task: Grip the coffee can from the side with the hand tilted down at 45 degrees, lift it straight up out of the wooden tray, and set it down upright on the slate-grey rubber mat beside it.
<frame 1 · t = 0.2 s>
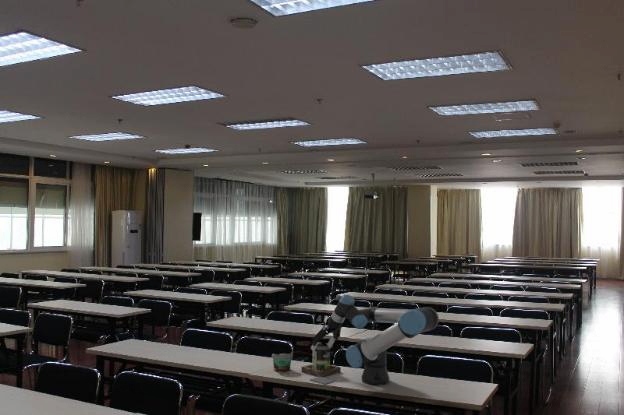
hand: (320, 348, 334), 15 cm above the table, tool tilted 35°, fingers open, 13 cm apart
mat: (322, 380, 322), on the table
food container: (283, 371, 342), on the table
coffee can: (321, 372, 340), resting in wooden tray
wooden tray: (321, 372, 340), on the table
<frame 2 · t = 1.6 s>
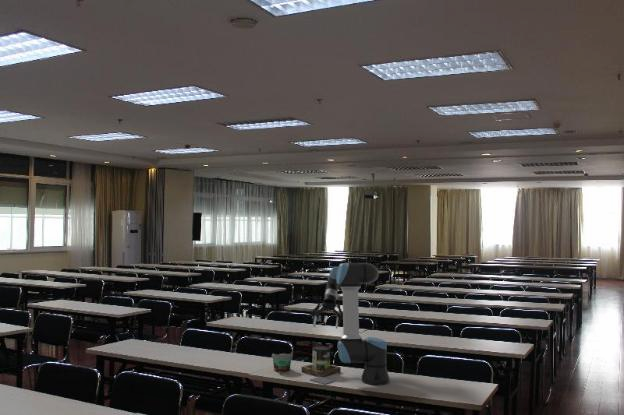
hand: (325, 326, 351), 24 cm above the table, tool tilted 45°, fingers open, 13 cm apart
nothing on the table moved.
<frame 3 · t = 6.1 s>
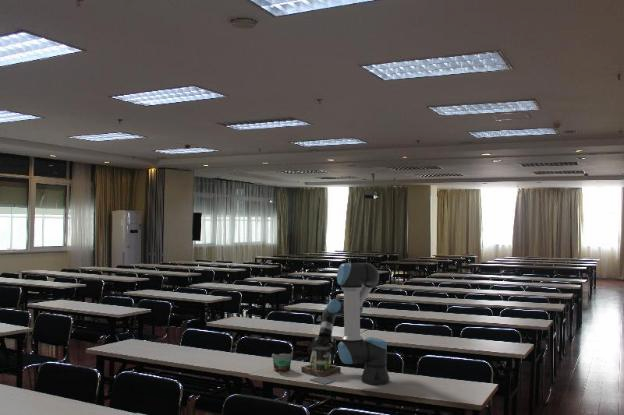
hand: (320, 363, 337), 5 cm above the table, tool tilted 45°, fingers closed on coffee can, 10 cm apart
coffee can: (321, 372, 340), resting in wooden tray, touching gripper
everything else where it was.
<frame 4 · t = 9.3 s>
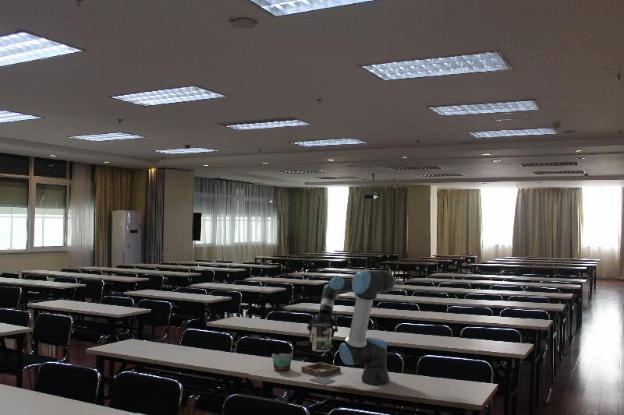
hand: (320, 340, 325), 21 cm above the table, tool tilted 45°, fingers closed on coffee can, 10 cm apart
coffee can: (321, 350, 328), point 16 cm above the table, touching gripper
everything else where it was.
when the fingers open (7 cm above the table, at t = 12.8 s): coffee can drops 1 cm, resting on mat.
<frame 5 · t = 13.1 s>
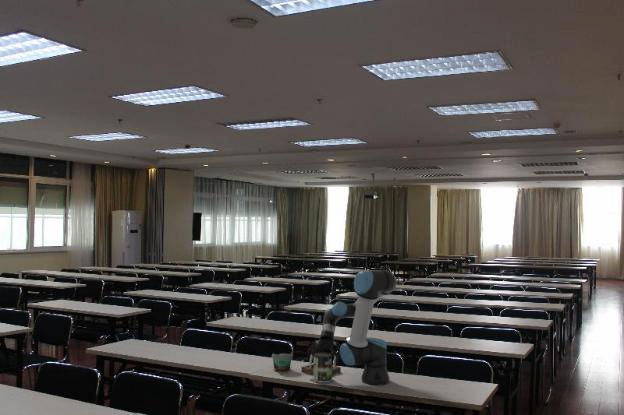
hand: (321, 367, 320), 8 cm above the table, tool tilted 45°, fingers open, 13 cm apart
coffee can: (322, 380, 322), resting on mat
everything else where it was.
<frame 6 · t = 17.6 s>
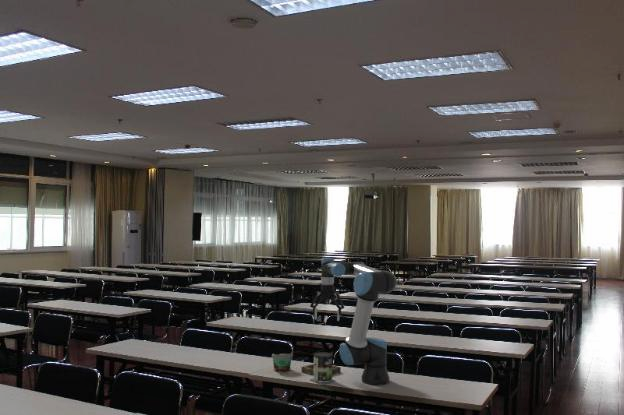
hand: (327, 320, 348), 29 cm above the table, tool pointing down, fingers open, 13 cm apart
nothing on the table moved.
at the end: coffee can inside the target area on the mat (0.1 cm from its centre), point 0.3 cm above the mat's base; coffee can tilted 0°; the gripper is holding nothing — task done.
